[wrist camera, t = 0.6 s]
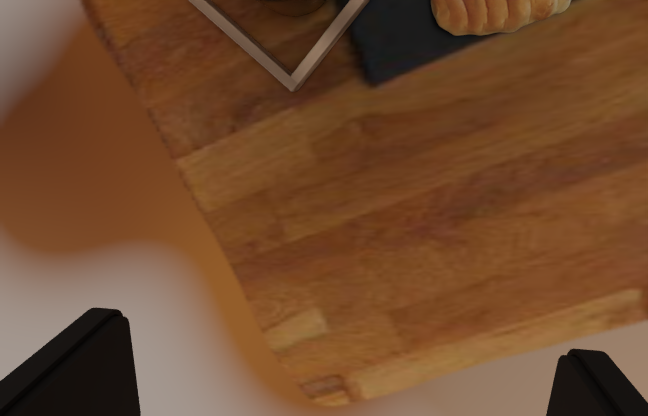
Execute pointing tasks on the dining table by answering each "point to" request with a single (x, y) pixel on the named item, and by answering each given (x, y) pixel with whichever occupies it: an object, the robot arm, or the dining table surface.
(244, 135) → the dining table surface
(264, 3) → the supplement bottle
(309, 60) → the caddy
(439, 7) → the pastry
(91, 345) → the robot arm
